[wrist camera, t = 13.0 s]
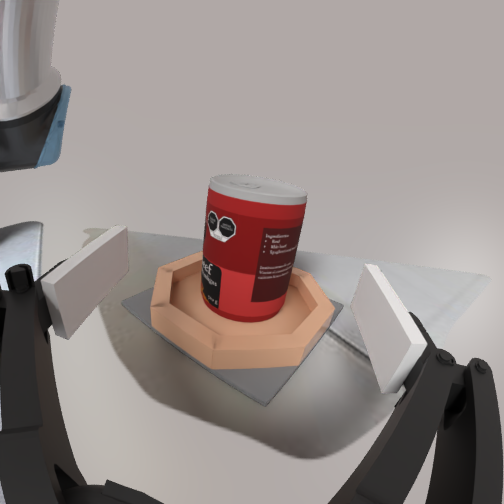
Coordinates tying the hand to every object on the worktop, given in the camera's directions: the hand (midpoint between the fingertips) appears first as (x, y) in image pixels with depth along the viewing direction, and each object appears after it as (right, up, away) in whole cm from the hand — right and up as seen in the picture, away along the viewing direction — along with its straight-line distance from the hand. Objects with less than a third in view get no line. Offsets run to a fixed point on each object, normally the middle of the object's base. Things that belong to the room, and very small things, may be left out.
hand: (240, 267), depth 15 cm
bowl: (-1, -5, +12) cm, 13 cm away
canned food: (0, -4, +12) cm, 13 cm away
